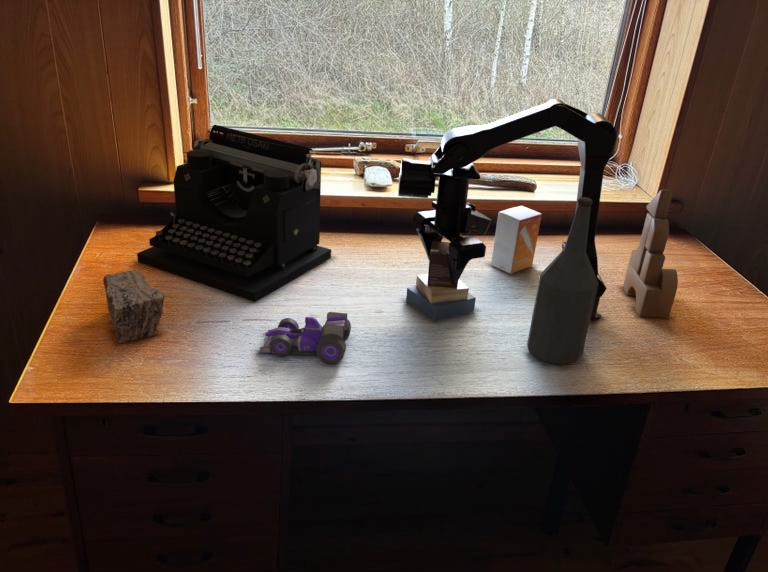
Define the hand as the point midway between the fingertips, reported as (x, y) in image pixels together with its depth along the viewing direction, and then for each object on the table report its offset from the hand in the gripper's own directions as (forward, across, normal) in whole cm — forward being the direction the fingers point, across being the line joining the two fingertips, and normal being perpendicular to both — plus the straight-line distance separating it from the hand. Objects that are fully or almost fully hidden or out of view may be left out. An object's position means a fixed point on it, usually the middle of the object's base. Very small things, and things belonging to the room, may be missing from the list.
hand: (443, 274), depth 148 cm
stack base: (+7, 0, 0) cm, 7 cm away
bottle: (+7, -24, -11) cm, 27 cm away
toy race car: (+7, -6, +32) cm, 33 cm away
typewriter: (+7, +34, +32) cm, 47 cm away
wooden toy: (+7, -13, -44) cm, 46 cm away
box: (+2, 0, 0) cm, 2 cm away
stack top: (+4, 0, 0) cm, 4 cm away
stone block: (+7, +12, +57) cm, 59 cm away
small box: (+7, +12, -26) cm, 29 cm away
